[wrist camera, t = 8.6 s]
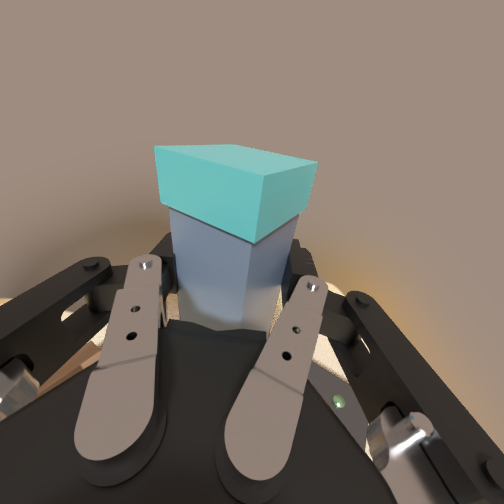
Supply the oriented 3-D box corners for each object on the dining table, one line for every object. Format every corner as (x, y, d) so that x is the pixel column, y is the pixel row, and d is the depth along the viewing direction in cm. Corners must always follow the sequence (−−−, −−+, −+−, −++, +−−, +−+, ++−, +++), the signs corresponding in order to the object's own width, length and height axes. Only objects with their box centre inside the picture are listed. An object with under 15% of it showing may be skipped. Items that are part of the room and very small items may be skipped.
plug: (180, 369, 15) (153, 146, 7) (222, 327, 18) (233, 144, 10) (230, 413, 13) (263, 175, 5) (266, 357, 16) (318, 162, 9)
